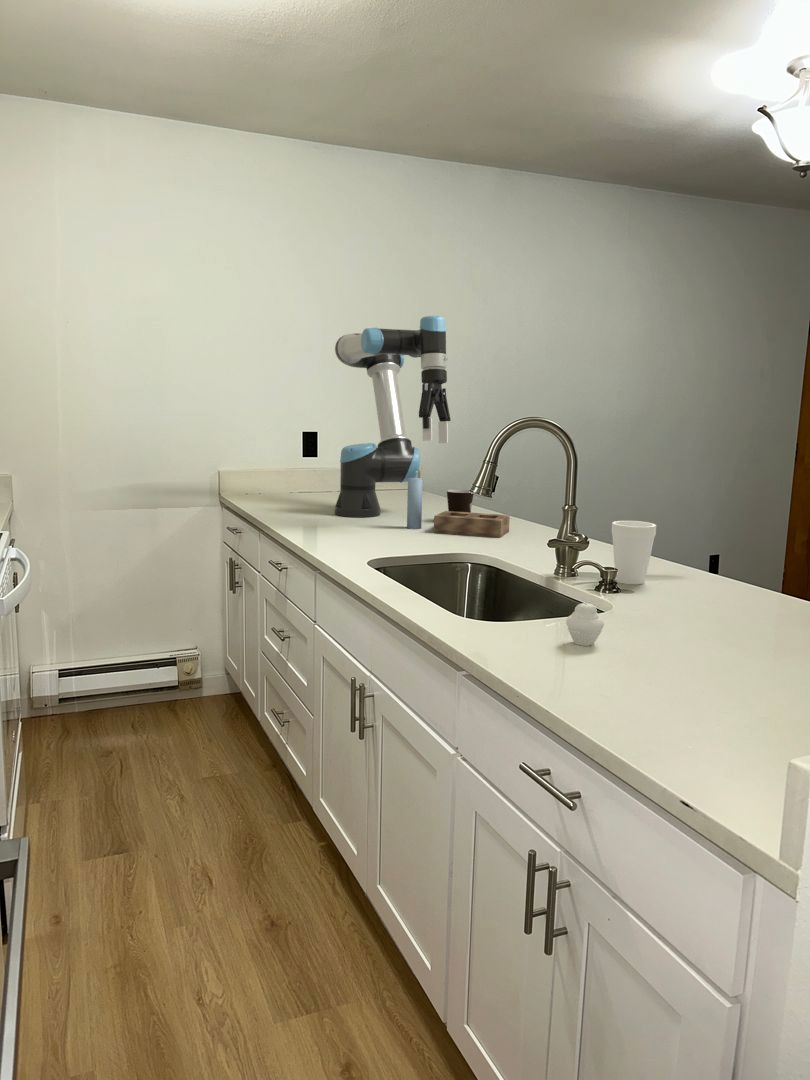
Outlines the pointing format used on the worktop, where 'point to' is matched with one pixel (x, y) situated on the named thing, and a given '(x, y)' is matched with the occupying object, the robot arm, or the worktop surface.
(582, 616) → the white lidded urn
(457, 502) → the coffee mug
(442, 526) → the socket block
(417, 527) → the peg
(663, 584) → the worktop surface
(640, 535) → the foam cup
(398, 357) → the robot arm
